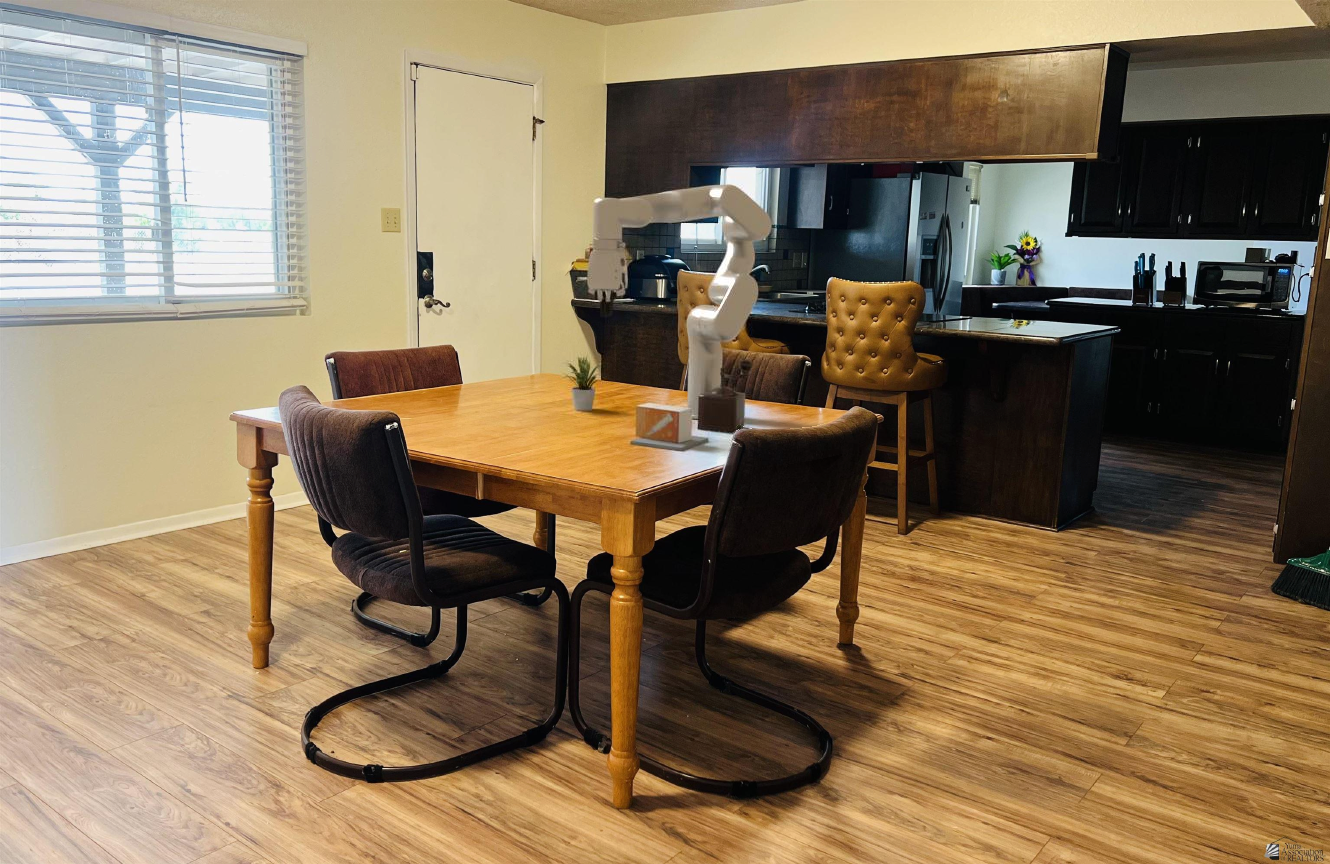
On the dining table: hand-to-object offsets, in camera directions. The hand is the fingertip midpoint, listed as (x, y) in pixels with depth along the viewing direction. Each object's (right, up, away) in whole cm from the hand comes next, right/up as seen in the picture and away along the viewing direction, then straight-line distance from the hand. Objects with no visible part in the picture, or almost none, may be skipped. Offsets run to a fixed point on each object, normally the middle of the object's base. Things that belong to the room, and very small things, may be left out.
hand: (606, 316), depth 271 cm
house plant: (-9, -24, +29) cm, 39 cm away
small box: (+10, -27, -12) cm, 32 cm away
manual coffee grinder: (+32, -29, +7) cm, 44 cm away
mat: (+17, -33, -16) cm, 40 cm away
